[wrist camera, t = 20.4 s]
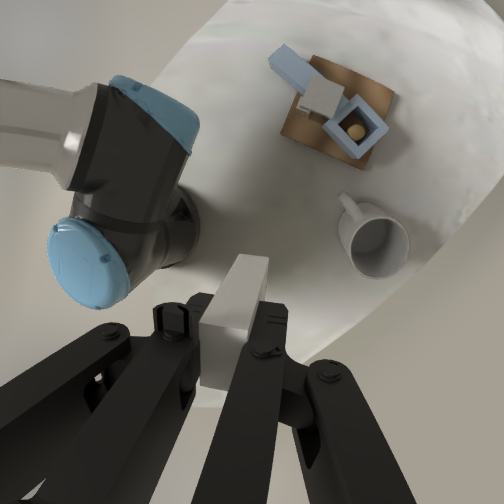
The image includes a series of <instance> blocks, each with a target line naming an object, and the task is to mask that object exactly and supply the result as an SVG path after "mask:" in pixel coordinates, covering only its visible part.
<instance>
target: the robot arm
mask: <svg viewBox="0 0 504 504" xmlns="http://www.w3.org/2000/svg"><path fill="white" fill-rule="evenodd" d="M199 128H200V121H199V118H198V116H197V115H196V113H195V112H194V111H192V110H191V109H190V108H188V107H187V106H185V105H183V104H182V103H180V102H178V101H177V100H175V99H173V98H171V97H169V96H168V95H166V94H164V93H162V92H160V91H158V90H156V89H154V88H151V87H149V86H147V85H143V84H142V83H139V82H137V81H135V80H133V79H131V78H128V77H125V76H122V75H116V76H114V77H113V78H112V79H111V80H110V81H109V86H107V85H103V84H99V83H96V82H93V83H91V84H89V85H87V86H86V87H84V88H82V89H80V90H78V91H75V92H71V91H66V90H61V89H56V88H52V87H47V86H41V85H36V84H30V83H24V82H17V81H11V80H4V79H0V166H3V167H10V168H18V169H26V170H33V171H40V172H47V173H51V174H52V175H53V176H54V177H55V179H56V181H57V182H58V184H59V185H60V187H61V188H62V189H63V190H68V191H75V193H74V197H73V202H72V206H71V211H70V215H69V217H65V218H62V219H60V220H59V222H58V223H57V224H56V225H54V226H53V227H52V229H51V231H50V233H49V236H48V240H47V255H48V259H49V264H50V267H51V269H52V272H53V274H54V276H55V277H56V279H57V281H58V283H59V284H60V286H61V287H62V288H63V290H64V291H65V292H66V293H67V294H68V295H69V296H70V297H71V298H72V299H73V300H75V301H76V302H77V303H79V304H81V305H83V306H85V307H87V308H91V309H95V310H101V309H107V308H110V307H112V306H113V305H115V304H116V303H118V302H120V301H122V300H123V299H125V298H126V297H127V296H128V294H129V293H130V292H131V291H132V290H133V289H134V288H136V287H137V286H138V285H139V284H140V283H141V282H142V281H143V280H145V279H146V278H147V277H148V276H149V275H150V274H151V273H153V272H154V271H155V270H157V269H164V268H170V267H173V266H175V265H177V264H179V263H180V262H182V261H183V260H184V259H185V258H186V257H187V256H188V255H189V254H190V253H191V252H192V251H193V249H194V247H195V246H196V243H197V241H198V238H199V232H200V221H199V215H198V212H197V209H196V207H195V204H194V203H193V201H192V199H191V198H190V197H189V195H188V194H187V193H186V192H185V191H184V190H182V189H181V188H180V187H178V186H177V184H178V182H179V179H180V177H181V174H182V172H183V169H184V167H185V164H186V162H187V160H188V157H189V156H191V154H192V150H191V149H192V147H193V144H194V141H195V139H196V136H197V134H198V131H199ZM268 265H269V257H263V256H255V255H247V254H239V255H238V257H237V258H236V260H235V262H234V263H233V265H232V267H231V268H230V270H229V272H228V273H227V275H226V277H225V279H224V280H223V282H222V284H221V285H220V287H219V289H218V290H217V292H216V294H215V295H213V294H207V293H201V292H199V293H197V294H195V295H194V296H192V297H190V299H189V300H188V302H187V303H186V304H182V303H176V302H169V303H163V304H160V305H157V306H156V307H154V308H153V318H154V329H155V331H154V332H153V334H152V335H151V336H148V337H138V336H130V332H129V329H128V328H127V327H126V326H125V325H123V324H120V323H113V322H110V323H104V324H102V325H99V326H97V327H96V328H94V329H92V330H90V331H89V332H87V333H86V334H84V335H82V336H81V337H79V338H78V339H76V340H74V341H73V342H71V343H69V344H68V345H66V346H65V347H63V348H61V349H60V350H58V351H57V352H55V353H53V354H52V355H50V356H49V357H47V358H45V359H44V360H42V361H41V362H39V363H37V364H36V365H34V366H33V367H31V368H30V369H28V370H26V371H25V372H23V373H22V374H20V375H18V376H17V377H15V378H14V379H12V380H11V381H9V382H8V383H6V384H5V385H3V386H1V387H0V504H149V502H150V500H151V497H152V495H153V493H154V490H155V488H156V486H157V484H158V481H159V479H160V476H161V474H162V472H163V470H164V467H165V465H166V463H167V461H168V458H169V456H170V453H171V451H172V449H173V447H174V444H175V442H176V440H177V437H178V435H179V433H180V431H181V428H182V426H183V424H184V421H185V419H186V417H187V414H188V412H189V410H190V407H191V405H192V403H193V400H194V398H195V395H196V382H197V380H198V378H199V376H200V386H204V387H209V388H214V389H219V390H224V391H228V393H227V397H226V400H225V403H224V406H223V409H222V412H221V415H220V418H219V421H218V425H217V427H216V431H215V434H214V437H213V440H212V443H211V446H210V449H209V452H208V455H207V458H206V461H205V464H204V467H203V470H202V473H201V475H200V478H199V481H198V484H197V487H196V490H195V493H194V496H193V499H192V502H191V504H266V503H267V497H268V490H269V484H270V477H271V470H272V463H273V457H274V450H275V441H276V435H277V427H278V422H281V423H283V424H286V425H288V426H291V427H292V433H293V437H294V441H295V445H296V449H297V453H298V457H299V462H300V466H301V470H302V474H303V478H304V482H305V486H306V490H307V494H308V498H309V502H310V504H417V503H416V501H415V499H414V497H413V495H412V493H411V490H410V488H409V486H408V484H407V482H406V480H405V478H404V476H403V474H402V472H401V470H400V467H399V465H398V463H397V461H396V459H395V457H394V455H393V453H392V451H391V449H390V447H389V445H388V443H387V441H386V439H385V437H384V435H383V433H382V431H381V429H380V427H379V425H378V423H377V421H376V419H375V417H374V415H373V413H372V411H371V409H370V407H369V405H368V403H367V402H366V400H365V398H364V396H363V394H362V392H361V390H360V388H359V386H358V384H357V383H356V381H355V379H354V377H353V375H352V373H351V371H350V370H349V369H348V368H347V367H346V366H345V365H343V364H342V363H340V362H337V361H334V360H327V359H323V360H318V361H315V362H313V363H312V364H310V366H309V367H308V366H305V365H302V364H300V363H298V362H295V361H294V360H293V359H291V358H290V357H289V356H288V355H287V353H286V351H285V343H286V332H287V321H288V310H287V308H286V307H285V305H284V304H281V303H273V302H266V301H264V300H265V292H266V283H267V274H268ZM100 373H101V376H102V379H101V380H99V381H95V378H94V377H96V376H97V375H98V374H100ZM45 478H46V479H45ZM44 479H45V481H44V482H43V484H42V485H41V487H40V488H39V490H38V491H37V493H36V494H35V495H34V496H33V497H32V498H30V499H28V500H20V499H22V498H23V497H24V496H25V495H26V494H28V493H29V492H30V491H31V490H32V489H34V488H35V487H36V486H37V485H38V484H40V483H41V482H42V481H43V480H44Z"/></svg>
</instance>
